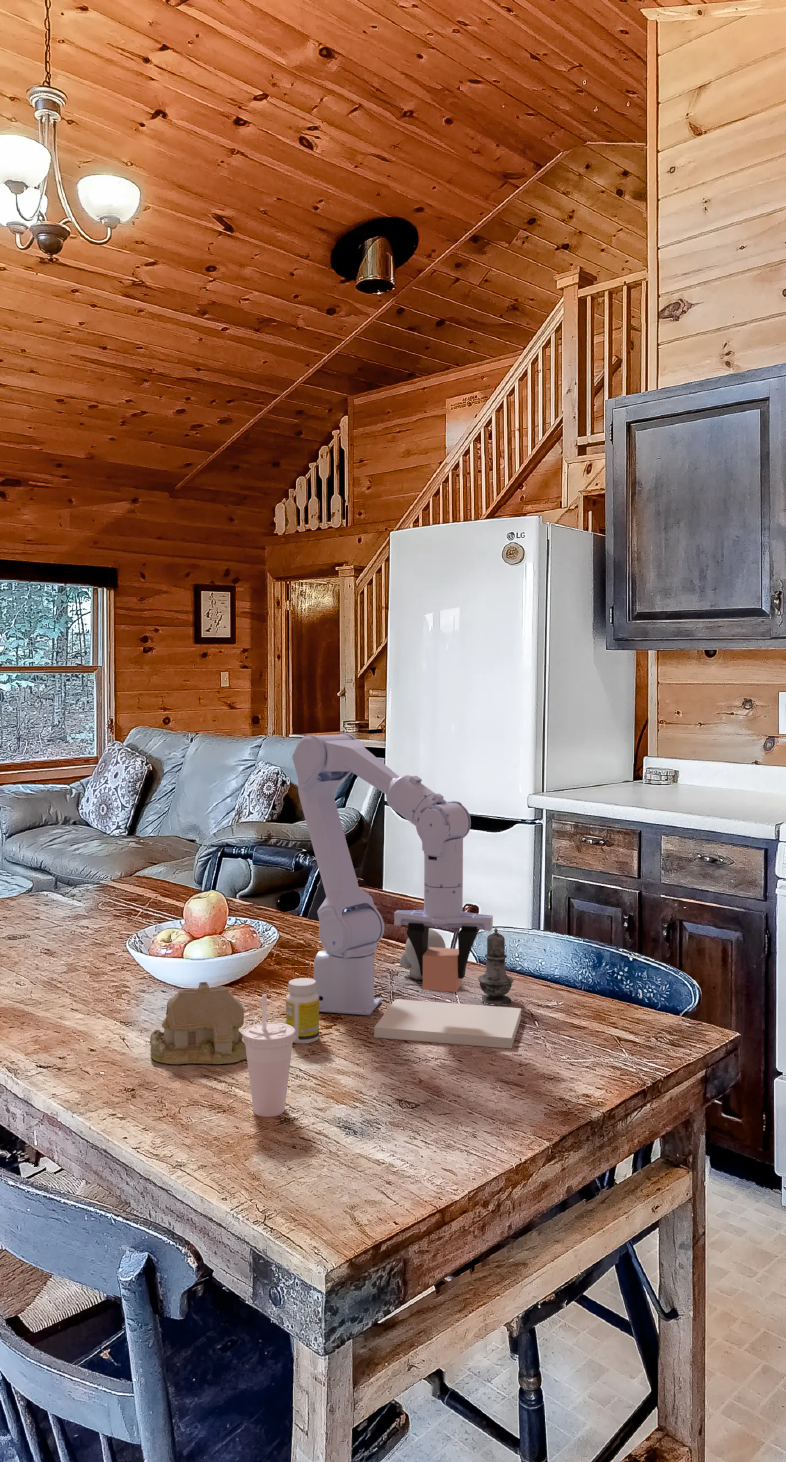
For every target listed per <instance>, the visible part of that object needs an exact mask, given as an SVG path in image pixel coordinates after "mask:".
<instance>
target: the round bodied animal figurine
mask: <svg viewBox="0 0 786 1462" xmlns="http://www.w3.org/2000/svg"><path fill="white" fill-rule="evenodd" d="M429 947H436V948H447V947H446V943H445V939H444V938H443V936H442V935H441V934H440V933H439V932H437V931H436V930H434V929H432V928H429V933H428V948H429ZM404 948H405V949H404V951H403V953H402V954H401V956H400V958H399V965H400V967H402V968H404V969H409V976H410V978H412V979H414V980H421V979H423V976H421V973H420V967H419V963H418V959H417V956H416V953H415V950H414V948H413V945H412V943H411V941H410V939H409V938H408V937H407V939H406V942H405V946H404Z"/></svg>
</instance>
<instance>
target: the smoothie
mask: <svg viewBox="0 0 786 1462" xmlns="http://www.w3.org/2000/svg"><path fill="white" fill-rule="evenodd" d="M267 997H268V996H267V994H265V993H264V994H263V993H262V995H261V1023H256V1024H252V1025H249V1026H247V1027H245V1029H243V1030H242V1035H243V1038H242V1041H243V1042H244V1043H245V1046H246V1056H247V1059H246V1061H247V1070H248V1077H249V1086H250V1092H251V1093H250V1094H251V1102H252V1109H253V1114H255V1115H256V1116H259V1117H265V1118H269V1117H276V1116H280V1115H282V1114H283V1113H284V1112H285V1108H286V1101H287V1092H288V1085H289V1076H290V1067H291V1060H292V1058H291V1057H292V1053H293V1044H294V1043H293V1041H294V1040H295V1039H296V1036H295V1029H294V1028H293V1027H292V1026H290V1025H288V1024H286V1023H282V1022H268V1021H267V1020H268V1019H267V1018H268V1017H267V1016H268V1014H267V1013H268V1011H267V1010H268V1007H267V1006H268V1005H267V1003H268V1001H267V999H268V998H267Z"/></svg>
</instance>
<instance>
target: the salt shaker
mask: <svg viewBox="0 0 786 1462" xmlns="http://www.w3.org/2000/svg"><path fill="white" fill-rule="evenodd" d="M493 931H494V932H493V933H491V934H489V935H488V936H487V938H486V940H487V941H486V954H484V958H486V968H485V973H484V974H481V975H480V976H478V977H477V981H478V982H479V987H480V990H481V991H482V992H483V993H484V995H482V996H481V997H482V1000H483V1001H482V1002H485V1003H488V1004H494V1005H493V1006H496V1005H499V1006H504V1005H503V1004H507V1005H510V1004H512V1002H511V1001H512V998H511V997H509V996H508V995H507V994H508V993H509V992H510V990H511V989H512V986H513V985H512V984H513V982H514V981H515V980H514V978H513V977H511V976H509V975H508V974H507V972H506V959H507V957H508V955H506V954H505V951H506V950H505V948H506V947H505V945H506V941H505V937H504V935H503V934H501V933H499V932H498V931H499V930H498V928H497V927H495V928H494V930H493ZM509 1003H510V1004H509Z"/></svg>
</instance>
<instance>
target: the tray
mask: <svg viewBox="0 0 786 1462" xmlns="http://www.w3.org/2000/svg"><path fill="white" fill-rule="evenodd" d="M521 1019H522V1008H521V1007H510V1006H509V1007H507V1006H496V1005H481V1004H479V1005H478V1004H467V1003H456V1002H455V1003H452V1002H441V1001H440V1002H439V1001H438V1002H437V1001H423V1000H412V999H411V1000H410V999H398V998H396V999H395V1000H394V1001H393V1002H392V1003H391V1005H390V1006H389V1007H388V1008H387V1010H386V1011H385V1012H384V1014H383V1015H382V1017H381V1018H380V1019H379V1020H378V1022H377V1023H376V1024H375V1026H374V1029H373V1031H374V1032H373V1033H374V1035H373V1036H374V1037H373V1038H378V1039H379V1038H380V1039H392V1040H402V1041H413V1042H414V1041H416V1042H426V1043H439V1044H452V1045H463V1046H464V1045H465V1046H475V1047H476V1046H477V1047H489V1048H499V1049H501V1048H502V1049H512V1047H513V1045H514V1042H515V1039H516V1035H517V1033H518V1029H519V1026H520V1023H521Z"/></svg>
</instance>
